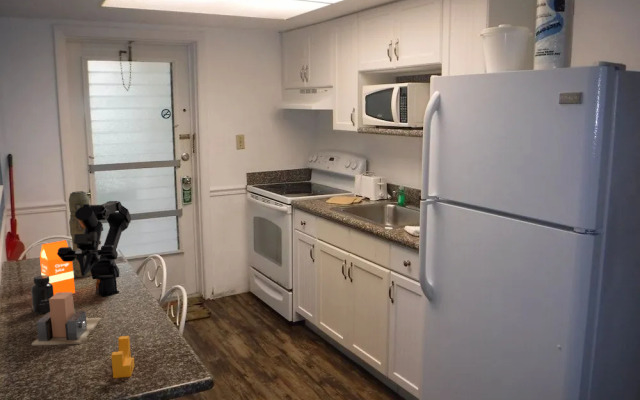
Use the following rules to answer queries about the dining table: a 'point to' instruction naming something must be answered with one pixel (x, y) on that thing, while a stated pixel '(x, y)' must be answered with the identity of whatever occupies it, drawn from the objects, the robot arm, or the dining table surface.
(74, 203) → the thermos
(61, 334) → the peg post
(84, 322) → the band block
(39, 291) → the supplement bottle
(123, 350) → the orange stepped block
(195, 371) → the dining table surface
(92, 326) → the base board
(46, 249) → the orange juice
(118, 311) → the dining table surface
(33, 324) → the dining table surface
